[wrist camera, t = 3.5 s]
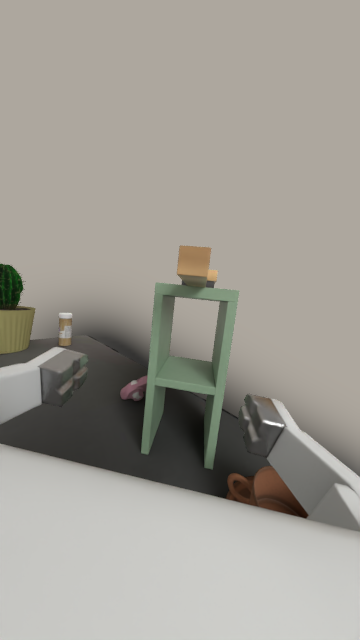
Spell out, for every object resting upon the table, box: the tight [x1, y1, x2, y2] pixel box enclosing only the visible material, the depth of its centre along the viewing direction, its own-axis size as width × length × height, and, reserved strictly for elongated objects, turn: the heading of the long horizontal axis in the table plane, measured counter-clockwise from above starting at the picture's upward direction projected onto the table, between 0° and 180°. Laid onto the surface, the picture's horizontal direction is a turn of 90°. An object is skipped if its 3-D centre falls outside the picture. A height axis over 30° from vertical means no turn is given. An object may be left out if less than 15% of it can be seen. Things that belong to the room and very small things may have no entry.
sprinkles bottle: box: [58, 313, 72, 346], centre depth 69 cm, size 5×5×13 cm
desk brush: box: [177, 246, 217, 288], centre depth 22 cm, size 19×6×3 cm, turn 172°
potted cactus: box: [0, 264, 35, 354], centre depth 57 cm, size 15×15×30 cm
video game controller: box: [120, 376, 148, 401], centre depth 39 cm, size 10×5×7 cm, turn 127°
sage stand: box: [141, 283, 239, 469], centre depth 28 cm, size 10×11×26 cm
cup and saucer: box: [226, 466, 309, 519], centre depth 16 cm, size 12×12×6 cm
